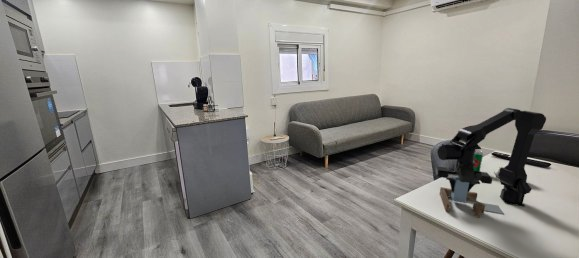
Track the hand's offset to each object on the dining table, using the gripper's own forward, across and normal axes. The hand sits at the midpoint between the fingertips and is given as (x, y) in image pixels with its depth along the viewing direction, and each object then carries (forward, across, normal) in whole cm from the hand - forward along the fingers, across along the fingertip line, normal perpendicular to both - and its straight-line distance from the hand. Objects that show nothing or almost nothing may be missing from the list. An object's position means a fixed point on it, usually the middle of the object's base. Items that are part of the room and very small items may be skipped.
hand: (459, 193), depth 102 cm
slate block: (+3, 0, 0) cm, 3 cm away
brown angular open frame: (+5, +2, -1) cm, 5 cm away
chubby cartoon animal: (+5, +30, +37) cm, 48 cm away
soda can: (+5, +16, +43) cm, 46 cm away
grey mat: (+5, +12, +1) cm, 13 cm away
